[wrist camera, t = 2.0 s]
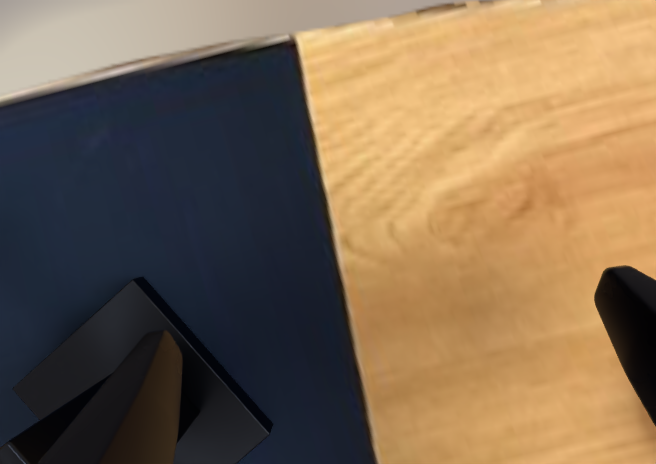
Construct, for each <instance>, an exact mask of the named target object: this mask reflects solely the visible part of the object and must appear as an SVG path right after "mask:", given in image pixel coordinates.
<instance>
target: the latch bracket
mask: <svg viewBox="0 0 656 464" xmlns="http://www.w3.org/2000/svg"><path fill="white" fill-rule="evenodd" d="M157 330H167V331H169V332H170V334H171V335H172V337H173V339H174V340H175V342H176V344H177V345H178V347H179V349H180V350H181V353H182V356H183V371H182V387H181V403H180V419H179V431H178V438H177V445H176V450H175V456H174V462H173V464H236V463H238V462H239V461H240V460H241V459H242V458H243V457H244V456H246V455H247V454H248V453H249V452H250V451H251V450H253V449H254V448H255V447H256V446H257V445H258V444H259V443H261V442H262V441H263V440H264V439H265V438H266V437H268V436H269V435H270V432H271V429H272V426H273V423H272V422H271V421H270V420H269V419H268V418H267V417H266V415H265V414H264V413H263V412H262V411H261V410H260V409H259V408H258V406H257V405H256V404H255V403H254V402H253V401H252V400H251V399H250V397H249V396H248V395H247V394H246V393H245V392H244V391H243V389H242V388H241V387H240V386H239V385H238V384H237V383H236V382H235V380H234V379H233V378H232V377H231V376H230V375H229V374H228V373H227V371H226V370H225V369H224V368H223V367H222V366H221V365H220V363H219V362H218V361H217V360H216V359H215V358H214V357H213V356H212V354H211V353H210V352H209V351H208V350H207V349H206V348H205V347H204V345H203V344H202V343H201V342H200V341H199V340H198V339H197V338H196V336H195V335H194V334H193V333H192V332H191V331H190V330H189V328H188V327H187V326H186V325H185V324H184V323H183V322H182V321H181V319H180V318H179V317H178V316H177V315H176V314H175V313H174V312H173V310H172V309H171V308H170V307H169V306H168V305H167V304H166V302H165V301H164V300H163V299H162V298H161V297H160V296H159V295H158V293H157V292H156V291H155V290H154V289H153V288H152V287H151V286H150V284H149V283H148V282H147V281H146V280H145V279H144V278H143V277H140V278H137V279H133V280H131V281H130V282H129V283H128V284H127V285H126V286H125V287H124V288H123V289H121V290H120V291H119V292H118V293H117V294H116V295H115V296H114V297H113V298H112V299H110V300H109V301H108V302H107V303H106V304H105V305H104V306H103V307H102V308H101V309H99V310H98V311H97V312H96V313H95V314H94V315H93V316H92V317H91V318H90V319H88V320H87V321H86V322H85V323H84V324H83V325H82V326H81V327H80V328H79V329H77V330H76V331H75V332H74V333H73V334H72V335H71V336H70V337H69V338H68V339H66V340H65V341H64V342H63V343H62V344H61V345H60V346H59V347H58V348H57V349H55V350H54V351H53V352H52V353H51V354H50V355H49V356H48V357H47V358H46V359H44V360H43V361H42V362H41V363H40V364H39V365H38V366H37V367H36V368H35V369H33V370H32V371H31V372H30V373H29V374H28V375H27V376H26V377H25V378H24V379H22V380H21V381H20V382H19V383H18V384H17V385H16V386H15V387H14V388H13V390H14V391H15V392H16V394H17V395H18V396H19V397H20V398H21V399H22V400H23V401H24V403H25V404H26V405H27V406H28V407H29V408H30V409H31V411H32V412H33V413H34V414H35V415H36V416H37V417H38V418H39V420H40V421H38V422H37V423H35V424H34V425H32V426H31V427H29V428H28V429H26V430H25V431H23V432H22V433H20V434H18V435H17V436H15V437H14V438H12V439H11V440H9V441H8V442H7V443H5V444H4V445H3V446H2V447H1V448H0V464H37V463H38V462H39V461H40V459H41V458H42V457H43V456H44V455H45V453H46V452H47V451H48V450H49V449H50V447H51V446H52V445H53V444H54V443H55V441H56V440H57V439H58V438H59V437H60V435H61V434H62V433H63V432H64V431H65V429H66V428H67V427H68V426H69V425H70V423H71V422H72V421H73V420H74V419H75V417H76V416H77V415H78V414H79V413H80V411H81V410H82V409H83V408H84V407H85V405H86V404H87V403H88V402H89V401H90V399H91V398H92V397H93V396H94V395H95V393H96V392H97V391H98V390H99V389H100V387H101V386H102V385H103V384H104V383H105V381H106V380H107V379H108V378H109V377H110V375H111V374H112V373H113V372H114V371H115V369H116V368H117V367H118V366H119V365H120V363H121V362H122V361H123V360H124V359H125V357H126V356H127V355H128V354H129V353H130V351H131V350H132V349H133V348H134V347H135V345H136V344H137V343H138V342H139V341H140V339H141V338H142V337H143V336H144V335H145V334H146V333H148V332H151V331H157Z"/></svg>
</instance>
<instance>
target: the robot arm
mask: <svg viewBox="0 0 656 464" xmlns="http://www.w3.org/2000/svg"><path fill="white" fill-rule="evenodd" d="M594 301H595V305H596V308H597V310H598V312H599V315H600V317H601V319H602V322H603V324H604V326H605V328H606V331H607V333H608V335H609V338H610V340H611V342H612V344H613V347H614V349H615V351H616V354H617V356H618V358H619V361H620V363H621V365H622V367H623V369H624V371H625V373H626V375H627V377H628V379H629V381H630V383H631V385H632V386H633V388H634V390H635V392H636V393H637V395H638V397H639V399H640V400H641V402H642V404H643V406H644V407H645V409H646V411H647V412H648V414H649V416H650V418H651V419H652V421H653V423H654V425H655V426H656V280H654V279H653V278H651V277H649V276H647V275H645V274H644V273H642V272H640V271H638V270H636V269H635V268H633V267H630V266H626V265H624V266H616V267H609V268H606V269H605V270H604V271H603V273H602V276H601V279H600V281H599V284H598V286H597V289H596V292H595V295H594ZM182 371H183V356H182V353H181V350H180V349H179V347H178V345H177V344H176V342H175V340H174V339H173V337H172V335H171V334H170V332H169V331H167V330H157V331H151V332H148V333H146V334H145V335H144V336H143V337H142V338H141V339H140V341H139V342H138V343H137V344H136V345H135V347H134V348H133V349H132V350H131V351H130V353H129V354H128V355H127V356H126V357H125V359H124V360H123V361H122V362H121V363H120V365H119V366H118V367H117V368H116V369H115V371H114V372H113V373H112V374H111V375H110V377H109V378H108V379H107V380H106V381H105V383H104V384H103V385H102V386H101V387H100V389H99V390H98V391H97V392H96V393H95V395H94V396H93V397H92V398H91V399H90V401H89V402H88V403H87V404H86V405H85V407H84V408H83V409H82V410H81V411H80V413H79V414H78V415H77V416H76V417H75V419H74V420H73V421H72V422H71V423H70V425H69V426H68V427H67V428H66V429H65V431H64V432H63V433H62V434H61V435H60V437H59V438H58V439H57V440H56V441H55V443H54V444H53V445H52V446H51V447H50V449H49V450H48V451H47V452H46V453H45V455H44V456H43V457H42V458H41V459H40V461H39V462H38V463H37V464H173V462H174V456H175V450H176V445H177V438H178V431H179V419H180V403H181V387H182Z"/></svg>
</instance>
